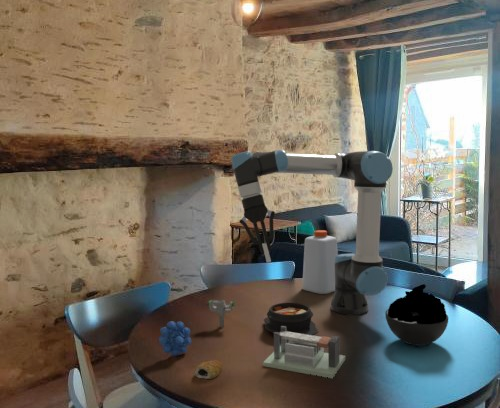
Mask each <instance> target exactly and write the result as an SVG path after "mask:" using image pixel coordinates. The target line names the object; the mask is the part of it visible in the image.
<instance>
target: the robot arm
mask: <svg viewBox="0 0 500 408" xmlns="http://www.w3.org/2000/svg"><path fill="white" fill-rule="evenodd" d="M230 160H231V167H232V170H233V173H234V176H235V180H236V183H237V190H238V193H239V196H240V198H242V199H241V204H242V207H243V210H244V211H243V217H242V218H241V219H240V220H239V223H240V224H241V225H242V226H243V227H244V229H245V231H246V233H247V235H248V237H249V238H250V241H251V242H252V244H253V245H258V248H259V250H260V253H261V254H264V257H265V261H266V263H271V262H272V260H271V256H270V252H272V247H271V241H272V240H274V239H275V237H274V234H275V233H274V216H275V215H276V212H275V211H273V210H269V209H268V207H267V206H266V204H265V200H264V197H263V195H262V194H261V193H262V189H261V185H260V180H259V177H263V176H267V175H271V174H275V173H278V174H279V173H280V174H303V175H305V174H306V175H325V176H326V175H330V176H332V177H334V178H339V179H340V178H341V179H347V180H350V181H351V180H352V181H353V183H354V185H353V187H354V188H355V189H356V190H357V209H356V210H357V211H356V214H357V215H356V235H355V236H356V239H355V241H356V242H355V253H354V252H353V253H352V252H351V253H341V254H338V255H337V256H336V257H335V263H334V264H335V291H334V292H333V296H332V299H331V302H330V310H331V311H333V312H334V313H337V314H341V315H349V316H350V315H354V316H355V315H356V316H357V315H362V314H365V313H367V312H369V303H368V300H367V296H369V297H374V296H377V295H379V294H380V293H381V292H382V291H384V290H385V288H386V286H387V284H388V279H389V278H388V274H387V272H386V271H385V270H384V268H383V265H384V264H383V263H384V262H383V261H384V260H383V258H382V257H381V256H380V255H379V253H380V237H381V235H380V234H381V233H380V232H381V231H380V230H381V215H382V214H381V212H382V211H381V210H382V192H383V191H384V190H385V189H386V188H387V182H388V181H389V180H390V178H391V176H392V174H393V168H394V167H393V162H392V160H391V158H390V157H389V156H388V155H387V154H386V153H384V152H382V151H378V150H365V151H352V152H343V153H339V152H338V153H334V154H333V155H331V154H330V155H329V154H307V153H306V154H305V153H304V154H303V153H286V152H285V150H283V149H277V150H272V151H268V152H267V151H265V152H261V151H256V152H254V153H252V152H251V151H249V150H248V151H242V152H238V153H236V154H233V155H232V156H231V158H230ZM266 216H268V217H269V219H268V220H269V222H268V223H269V235H268V232H267V228H266V224H265V221H264V220H265V219H266ZM247 220H248V221H249V222H250V223H252V225H253V229H254V231H255V237H256V238H255V237H254V234H253V233H252V231H251V230H250V227H249V226H248V224H247V222H248V221H247ZM258 222H259V223H260V227H261V230H262V233H263V237H264V241H265V242H264V243H263V242H262V237H261V234H260V229H259V226H258Z"/></svg>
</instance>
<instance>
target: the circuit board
mask: <svg viewBox="0 0 500 408" xmlns="http://www.w3.org/2000/svg"><path fill="white" fill-rule="evenodd" d="M284 354H285V352H281V345H280V359H279V360H278V359H274V351H273V352H272V353H271V354H270V355H269V356H268V357H266V358H265V360H264V361H263V362H262V363H263V364H262V367H267V368H272V369H278V370H282V371H283V370H284V371H289V372H294V373H301V374H304V375H310V374H311V376H316V375H317V377H321V376H322V378H327V377H328V379H334V378H335V376H336V375H335V374H337V373H338V372H337V371H339V370H340V369H341V367H342V365H343V364H344V363H345V361H346V355H343V354H340V361H339V363H338V364H337V366H336V367H335V368H333V367H329V355H328V352H324V355H323V356H322V357H321V359H320V360H319V361H318V363H317V364H316V365H315V367H314V368H313V369H312V368H306V367H300V366H295V365H289V364H285V355H284ZM333 377H334V378H333Z"/></svg>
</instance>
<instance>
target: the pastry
mask: <svg viewBox="0 0 500 408" xmlns="http://www.w3.org/2000/svg"><path fill="white" fill-rule="evenodd" d="M222 371H223V363H222V361H219V360H217V359H213V360H207V361H206V360H205V361H202V362H201V363H199V364H198V365H197V367H196V369H195V371H194V373H193V374H194V375H195V377H196V378H198V379H205V380H211V379H214V378H216V377H217V376H219V375H220V374H221V372H222Z"/></svg>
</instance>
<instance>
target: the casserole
mask: <svg viewBox="0 0 500 408" xmlns="http://www.w3.org/2000/svg"><path fill="white" fill-rule="evenodd" d="M266 316H267V317H265V318H264V319H263V321H264V327H265V329H266V331H269V332H270V333H273V334H274V332H278V333H280V332H281V326H286V328H287V331H288V332H294V333H299V334H306V335H313V336H316V335H317V334H318V333H319V330H318V328H317V326H316V323H315V322H314V321H312V318H313V316H314V312H313V311H312V310H311V307H310V306H308V305H307V304H303V303H300V302H281V303H275V304H274V305H271V306H270V307H269V309H268V311H267V312H266Z"/></svg>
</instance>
